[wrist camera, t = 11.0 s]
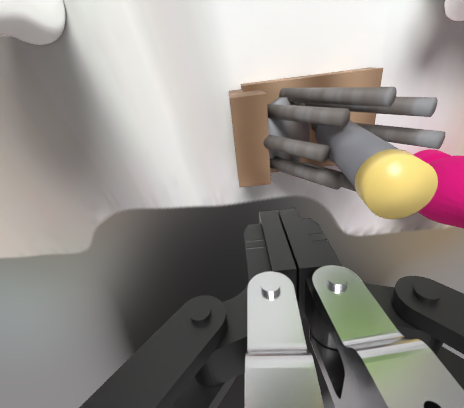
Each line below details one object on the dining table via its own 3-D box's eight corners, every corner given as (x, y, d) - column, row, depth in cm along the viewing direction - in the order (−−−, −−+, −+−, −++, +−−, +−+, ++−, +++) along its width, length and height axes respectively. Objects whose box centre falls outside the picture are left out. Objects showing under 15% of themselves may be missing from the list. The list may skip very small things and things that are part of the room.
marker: (313, 150, 24) (362, 221, 13) (314, 115, 22) (370, 162, 12) (349, 147, 23) (428, 216, 13) (353, 110, 22) (446, 156, 11)
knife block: (237, 168, 30) (243, 218, 20) (228, 85, 26) (229, 98, 16) (365, 153, 30) (434, 197, 20) (377, 66, 26) (474, 68, 16)
